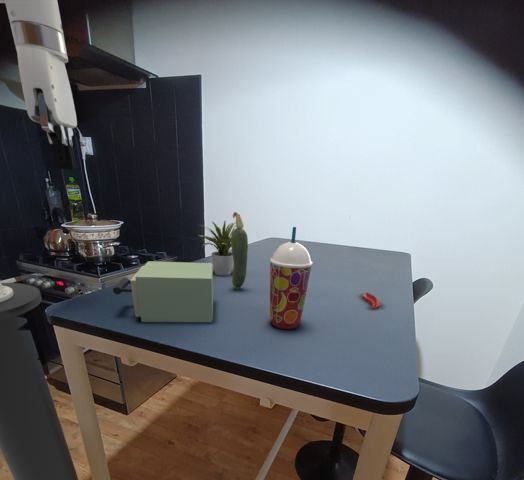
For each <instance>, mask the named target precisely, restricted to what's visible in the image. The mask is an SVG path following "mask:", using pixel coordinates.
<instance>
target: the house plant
mask: <svg viewBox="0 0 524 480" xmlns="http://www.w3.org/2000/svg"><path fill="white" fill-rule="evenodd" d="M211 223H212V224H213V227H214V229H215V231H214V230H212V229H211V228H209V227H207V226H205V225H201V224H199V226H200V227H204V228H202V229H204V230H205V229H207V231H208V232H209V233H210V234H211V235H212V236H211V237H210V236H208V235H203V234H197V236H198V237H201V238H204V241H206V242H205V243H203V244H202V247H204V246H206V245H211V247H212V248H214V250H215V251H213V252H211V260H212V263H213V272H214V274H215V275H216V276H221V277H222V276H223V277H225V276H230V275H231V274H232V271H233V265H234V260H233V254H232V251H229V250H230V249H232V247H231V234H232V232H233V231H234V230H235V229H236V227H235V226H236V222H231V223H229V224H228V225H227V226H226V223H227V221H226V220H224V221H223V226H222V230H221V227H219V226H218V225H217V224H216V223H215V222H214V221H211ZM207 240H208V241H207Z"/></svg>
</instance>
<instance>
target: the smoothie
mask: <svg viewBox="0 0 524 480" xmlns="http://www.w3.org/2000/svg"><path fill="white" fill-rule="evenodd" d="M296 234H297V227H296V226H293V227H292V232H291V241H288V242H285V243H283V244H280V246H278V247H277V248H276V250H275V251H274V252H273V255H272V256H271V257H270V259H269V263H270V265H269V278H270V279H269V320H270V321H271V324H272V325H273V326H274V327H276V328H278V329H281V330H292V329H295V328H297V327H298V326H299V323H301V321H302V318H303V312H304V306H305V300H306V296H307V291H308V285H309V280H310V275H311V269H312V266H313V261H311V256H310V253H309V251H308V250H307V248H306V247H304V245H302V244H301V243H299V242H297V241H296V236H297V235H296Z"/></svg>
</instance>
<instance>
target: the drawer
mask: <svg viewBox="0 0 524 480" xmlns="http://www.w3.org/2000/svg"><path fill="white" fill-rule="evenodd" d="M144 266H145V265H142V266H141V267H140V268H139V269H138V270H137V272H136V273H135V274H134V275H133V277H131V279H129V278H128V277H123V278H121V279H120V280H119V281H118V283H117V284H116V285H115V286H114V287H113V288H112V292H113V293H114V294H115V295H120V294H121V293H131V294H132V301H133V309H134V314H135V318H141V315H140V308H139V300H138V293H137V285H136V278H135V277H136V275H137V274H138V273H139V272H140V271H141V269H142V268H143V267H144ZM129 284H130V287H131V288H126V287H127V286H128V285H129Z"/></svg>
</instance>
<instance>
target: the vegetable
mask: <svg viewBox="0 0 524 480" xmlns="http://www.w3.org/2000/svg"><path fill="white" fill-rule="evenodd" d="M234 218H235V225H236V226H235V225H234V227H235V229H234V231H233V232H232V231H231V232H232V234H231V233H230V234H231V237H230V238H231V242H230V243H231V253H232V254H233V267H232V279H231V282H232V286H233V288H234V289H235V290H237V291H238V290H239V289H240V288H241V287H243V285H244V283H245V280H246V276H247V266H248V251H249V249H248V248H249V241H248V240H249V238H248V234H247V232H246V230H245V229H244V222H243V220H242V217H241V214H239V213H238V212H237V211H234V212H233V213H232V219H234Z"/></svg>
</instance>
